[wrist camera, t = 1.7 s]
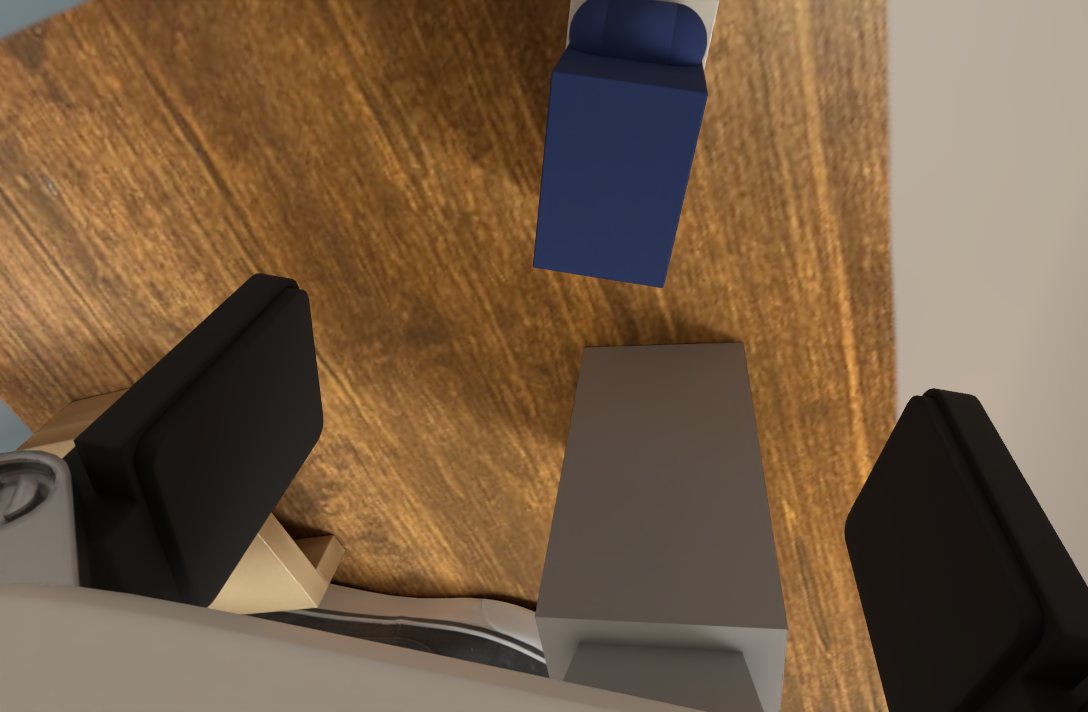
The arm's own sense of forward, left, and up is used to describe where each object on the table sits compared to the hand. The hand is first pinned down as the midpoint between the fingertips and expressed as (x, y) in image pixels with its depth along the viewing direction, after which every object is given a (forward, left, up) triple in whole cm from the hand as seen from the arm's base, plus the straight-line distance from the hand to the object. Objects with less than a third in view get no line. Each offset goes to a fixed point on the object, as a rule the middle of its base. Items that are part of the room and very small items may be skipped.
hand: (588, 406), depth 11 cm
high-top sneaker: (0, 0, -16) cm, 16 cm away
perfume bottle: (+9, -10, -17) cm, 21 cm away
